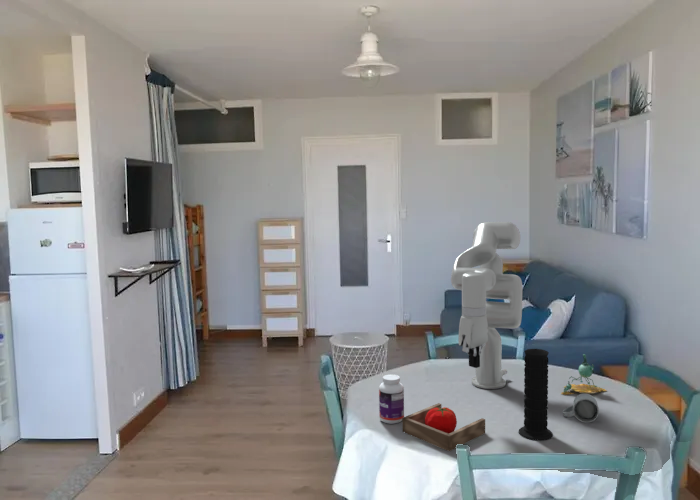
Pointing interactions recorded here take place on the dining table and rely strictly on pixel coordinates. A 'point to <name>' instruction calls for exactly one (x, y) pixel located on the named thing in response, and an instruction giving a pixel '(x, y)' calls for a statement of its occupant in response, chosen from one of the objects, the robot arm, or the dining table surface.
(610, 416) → the dining table surface
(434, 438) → the box
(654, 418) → the dining table surface
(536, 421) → the handle grip
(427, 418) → the tomato
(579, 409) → the ceramic mug
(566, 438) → the dining table surface
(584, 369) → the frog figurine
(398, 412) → the pill bottle
